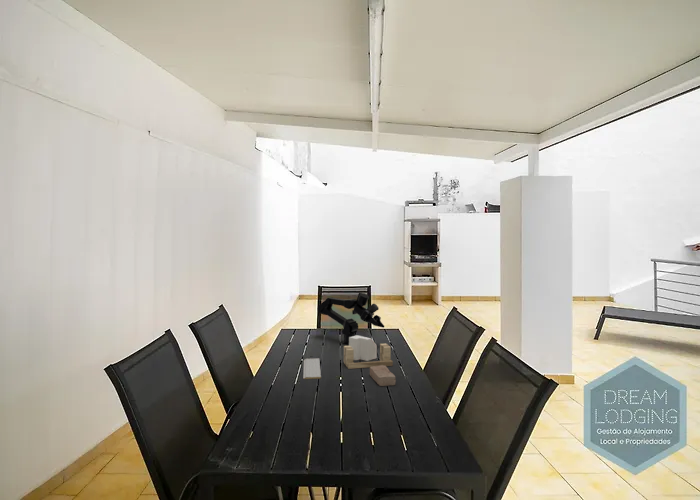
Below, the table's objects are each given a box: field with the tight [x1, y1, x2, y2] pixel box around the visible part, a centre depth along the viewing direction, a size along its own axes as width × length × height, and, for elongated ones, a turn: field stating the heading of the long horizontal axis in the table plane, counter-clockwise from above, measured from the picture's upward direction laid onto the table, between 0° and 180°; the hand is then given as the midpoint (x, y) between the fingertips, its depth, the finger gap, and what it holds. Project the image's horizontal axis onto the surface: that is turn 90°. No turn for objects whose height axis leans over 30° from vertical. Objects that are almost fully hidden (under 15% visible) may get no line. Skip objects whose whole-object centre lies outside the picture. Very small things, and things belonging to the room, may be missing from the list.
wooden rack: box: [343, 343, 394, 370], centre depth 229 cm, size 12×24×9 cm, turn 103°
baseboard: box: [302, 357, 322, 380], centre depth 221 cm, size 30×3×10 cm
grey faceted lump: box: [348, 334, 378, 362], centre depth 240 cm, size 11×11×12 cm
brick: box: [369, 365, 397, 387], centre depth 206 cm, size 17×8×5 cm, turn 14°
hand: (380, 325), depth 256 cm, fingers open, 9 cm apart
